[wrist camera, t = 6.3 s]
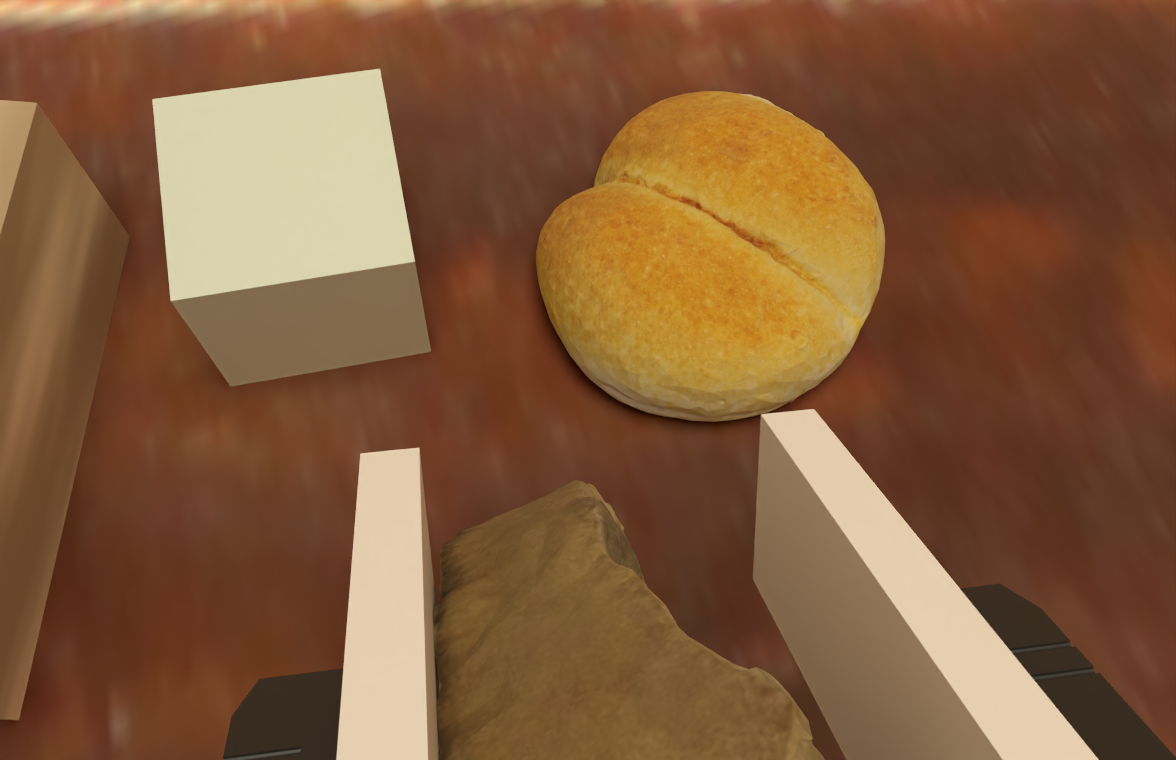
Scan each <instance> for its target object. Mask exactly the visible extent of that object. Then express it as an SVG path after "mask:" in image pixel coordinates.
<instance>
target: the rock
mask: <svg viewBox="0 0 1176 760" xmlns="http://www.w3.org/2000/svg"><path fill="white" fill-rule="evenodd" d="M623 531H624V527H623V526H622V524H621V523H620V521H619V520H618V518H617V517H616V515H615V512H614V510H613V508H612V507H611V506H610V504H607V503H605V501H604V500H603V498H602V497H601V495H600V494H599V492H598V491H597V490H596V488H595V487H594V486H593V485H591V484H590V483H589V484H585V483H584V482H582V481H579V480H575V481H572V482H570V483H568V484H566V485H564V486H562V487H560V488H558V489H556V490H555V491H553V492H551V493H550V494H548V495H546V496H544V497H541V498H539V499H537V500H535V501H533V502H530V503H528V504H526V505H524V506H523V507H519V508H516V509H513V510H510V511H508V512H506V513H503V514H501V515H499V516H497V517H495V518H493V519H490V520H488V521H486V522H484V523H483V524H480V525H477V526H474V527H471V528H467V529H465V530H462V531H460V532H458V533H457V534H456V535H455V536H454V537H453V539H451V540H450V541H448V542H446V543H445V544H444V545H443V547H442V548H441V551H440V565H441V582H440V585H439V592H440V598H441V601H440V602H439V603H438V604H437V605H436V606H435V607H434V630H433V633H434V653H435V658H436V664H437V671H438V678H439V697H438V701H437V704H436V713H437V732H438V745H439V750H440V758H439V760H825V759H824V757H823V756H822V755H821V753H820V752H819V751H818V750H817V749H816V748H815V747H814V745H813V744H812V740H813V737H812V734H811V731H810V726H809V721H808V719H807V718H806V717H805V715H804V714H803V712H802V711H801V710H800V708H799V707H798V705H797V704H796V703H795V701H794V700H793V698H792V697H791V696H790V694H789V693H788V692H787V691H786V690H785V689H784V688H783V687H782V686H781V684H780V683H779V682H778V681H777V680H776V679H775V678H774V677H773V676H772V675H770V674H769V673H768V672H766V671H764V670H762V669H760V668H758V667H754V668H751V669H747V668H744V667H742V666H739V665H736V664H733V663H732V662H730V661H728V660H726V659H725V658H723V657H721V656H719V655H718V654H716V653H715V652H713V651H711V650H710V649H708V648H707V647H705V646H703V645H702V644H700V643H698V642H697V641H695V640H693V639H692V638H690V637H688V636H687V635H686V634H685V633H684V632H683V631H682V630H681V629H680V628H679V627H678V625H677V623H676V622H675V620H674V618H673V617H672V615H671V613H670V611H669V610H668V608H667V606H666V605H665V604H664V603H663V602H662V601H661V600H660V599H659V598H658V597H657V596H656V595H655V594H654V593H652V592H651V591H650V590H649V589H648V587H647V586H646V584H645V581H644V578H643V575H642V571H641V568H640V565H639V561H638V558H637V556H636V554H635V552H634V550H633V548H632V546H631V544H630V542H629V541H628V539H627V538H626V536H625V534H624V532H623Z"/></svg>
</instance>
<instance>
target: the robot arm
mask: <svg viewBox="0 0 1176 760" xmlns="http://www.w3.org/2000/svg"><path fill="white" fill-rule="evenodd" d="M753 580H754V582H755V584H756V586H757V588H758V590H759V592H760V594H761V596H762V597H763V599H764V601H765V603H766V605H767V607H768V609H769V611H770V613H771V615H772V617H773V619H774V621H775V623H776V625H777V627H778V628H779V630H780V632H781V634H782V636H783V638H784V640H785V642H786V644H787V646H788V648H789V650H790V652H791V654H792V656H793V657H794V659H795V661H796V663H797V665H798V667H799V669H800V671H801V673H802V675H803V677H804V679H805V681H806V683H807V685H808V686H809V688H810V690H811V692H812V694H813V696H814V698H815V700H816V702H817V704H818V706H819V708H820V710H821V712H822V714H823V715H824V717H825V719H826V721H827V723H828V725H829V727H830V729H831V731H832V733H833V735H834V737H835V739H836V741H837V743H838V745H839V746H840V748H841V750H842V752H843V754H844V756H845V758H846V760H1176V757H1175V756H1174V755H1173V754H1172V753H1171V752H1170V750H1169V749H1168V748H1167V747H1166V746H1165V745H1164V744H1163V743H1162V742H1161V741H1160V739H1159V738H1158V737H1157V736H1156V735H1155V734H1154V733H1153V732H1152V731H1151V729H1150V728H1149V727H1148V726H1147V725H1146V724H1145V723H1144V722H1143V721H1142V720H1141V718H1140V717H1139V716H1138V715H1137V714H1136V713H1135V712H1134V711H1133V710H1132V708H1131V707H1130V706H1129V705H1128V704H1127V703H1126V702H1125V701H1124V700H1123V699H1122V697H1121V696H1120V695H1119V694H1118V693H1117V692H1116V691H1115V690H1114V689H1113V687H1112V686H1111V685H1110V684H1109V683H1108V682H1107V681H1106V680H1105V679H1104V678H1103V676H1102V675H1101V674H1100V673H1097V674H1095V672H1094V669H1093V665H1092V664H1091V663H1090V662H1089V661H1088V660H1087V659H1086V658H1085V657H1084V655H1083V654H1082V653H1081V652H1080V651H1079V650H1078V649H1077V648H1076V647H1071V645H1070V640H1069V639H1068V638H1067V637H1066V636H1065V634H1064V633H1063V632H1062V631H1061V630H1060V629H1059V628H1058V627H1057V626H1056V625H1055V623H1054V622H1053V621H1052V620H1051V619H1050V618H1049V617H1048V616H1047V615H1046V613H1045V612H1044V611H1043V610H1042V609H1041V608H1039V607H1037V606H1036V605H1034V604H1032V603H1031V602H1029V601H1028V600H1026V599H1024V598H1023V597H1021V596H1019V595H1018V594H1016V593H1014V592H1013V591H1011V590H1009V589H1008V588H1006V587H1004V586H1003V585H1001V584H994V585H986V586H978V587H970V588H961V589H960V588H959V587H958V586H957V585H956V583H955V582H954V581H953V580H952V578H951V577H950V576H949V575H948V574H947V572H946V571H945V570H944V569H943V567H942V566H941V565H940V564H939V562H938V561H937V560H936V559H935V558H934V556H933V555H932V554H931V553H930V551H929V550H928V549H927V548H926V546H925V545H924V544H923V543H922V542H921V540H920V539H919V538H918V537H917V535H916V534H915V533H914V532H913V530H912V529H911V528H910V527H909V526H908V524H907V523H906V522H905V521H904V519H903V518H902V517H901V516H900V514H899V513H898V512H897V511H896V510H895V508H894V507H893V506H892V505H891V503H890V502H889V501H888V500H887V498H886V497H885V496H884V495H883V494H882V492H881V491H880V490H879V489H878V487H877V486H876V485H875V484H874V482H873V481H872V480H871V479H870V478H869V476H868V475H867V474H866V473H865V471H864V470H863V469H862V468H861V466H860V465H859V464H858V463H857V462H856V460H855V459H854V458H853V457H852V455H851V454H850V453H849V452H848V450H847V449H846V448H845V447H844V446H843V444H842V443H841V442H840V441H839V439H838V438H837V437H836V436H835V434H834V433H833V432H832V431H831V430H830V428H829V427H828V426H827V425H826V423H825V422H824V421H823V420H822V418H821V417H820V416H819V415H818V414H817V412H816V411H815V410H814V409H810V410H799V411H789V412H779V413H769V414H761V422H760V443H759V464H758V485H757V506H756V527H755V547H754V568H753ZM435 606H436V599H435V590H434V580H433V571H432V562H431V552H430V543H429V534H428V524H427V515H426V506H425V496H424V487H423V478H422V468H421V459H420V450H419V448H412V449H402V450H392V451H381V452H371V453H361V454H360V467H359V479H358V492H357V504H356V517H355V530H354V542H353V555H352V567H351V580H350V593H349V605H348V618H347V630H346V643H345V656H344V668H343V669H336V670H328V671H320V672H312V673H304V674H296V675H288V676H280V677H272V678H264V679H259V681H258V682H257V683H256V685H255V686H254V687H253V689H252V690H251V691H250V693H249V694H248V695H247V697H246V698H245V699H244V701H243V702H242V703H241V705H240V706H239V707H238V709H237V710H236V711H235V713H234V714H233V716H232V718H231V723H230V728H229V732H228V737H227V742H226V746H225V751H224V756H223V758H224V760H439V758H440V750H439V745H438V732H437V713H436V704H437V701H438V697H439V678H438V671H437V664H436V658H435V653H434V633H433V630H434V607H435Z"/></svg>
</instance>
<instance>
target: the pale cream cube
mask: <svg viewBox="0 0 1176 760" xmlns="http://www.w3.org/2000/svg"><path fill="white" fill-rule="evenodd" d="M152 100H153V111H154V122H155V133H156V144H157V155H158V167H159V178H160V189H161V200H162V211H163V222H164V233H165V244H166V255H167V266H168V277H169V288H170V300H171V302H172V304H173V305H174V307H175V308H176V309H177V311H178V312H179V314H180V315H181V317H182V318H183V319H184V321H185V322H186V324H187V325H188V327H189V328H190V329H191V331H192V332H193V334H194V335H195V337H196V338H197V339H198V341H199V342H200V344H201V345H202V347H203V348H204V349H205V351H206V352H207V354H208V355H209V357H210V358H211V359H212V361H213V362H214V364H215V365H216V367H217V368H218V369H219V371H220V372H221V374H222V375H223V377H224V378H225V379H226V381H227V382H228V384H229V385H230V387H232V386H237V385H243V384H249V383H255V382H260V381H266V380H272V379H278V378H283V377H289V376H295V375H301V374H306V373H312V372H318V371H324V370H329V369H335V368H341V367H347V366H352V365H358V364H364V363H370V362H375V361H381V360H387V359H393V358H398V357H404V356H410V355H416V354H421V353H427V352H431V348H430V342H429V337H428V331H427V326H426V320H425V315H424V309H423V303H422V298H421V292H420V287H419V281H418V276H417V270H416V265H415V259H414V254H413V248H412V243H411V237H410V232H409V226H408V221H407V215H406V210H405V204H404V199H403V193H402V188H401V182H400V177H399V171H398V166H397V160H396V155H395V149H394V144H393V138H392V133H391V127H390V122H389V116H388V111H387V105H386V100H385V94H384V89H383V84H382V78H381V73H380V69H374V70H367V71H359V72H352V73H344V74H337V75H329V76H322V77H314V78H307V79H300V80H292V81H285V82H277V83H270V84H262V85H255V86H247V87H240V88H232V89H225V90H218V91H210V92H203V93H195V94H188V95H180V96H173V97H165V98H158V99H152Z"/></svg>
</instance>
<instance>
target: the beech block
mask: <svg viewBox="0 0 1176 760" xmlns="http://www.w3.org/2000/svg"><path fill="white" fill-rule="evenodd" d="M129 239H130V236H129V234H128V233H127V232H126V230H125V229H124V227H123V226H122V224H121V223H120V222H119V220H118V219H117V217H116V216H115V214H114V213H113V211H112V210H111V209H110V207H109V206H108V204H107V203H106V201H105V200H104V198H103V197H102V196H101V194H100V193H99V191H98V190H97V188H96V187H95V185H94V184H93V183H92V181H91V180H90V178H89V177H88V175H87V174H86V172H85V171H84V170H83V168H82V167H81V165H80V164H79V162H78V161H77V159H76V158H75V157H74V155H73V154H72V152H71V151H70V149H69V148H68V147H67V145H66V144H65V142H64V141H63V139H62V138H61V136H60V135H59V134H58V132H57V131H56V129H55V128H54V126H53V125H52V123H51V122H50V121H49V119H48V118H47V116H46V115H45V113H44V112H43V110H42V109H41V108H40V106H39V105H38V103H32V102H19V101H6V100H0V719H2V720H19V718H20V713H21V709H22V705H23V700H24V696H25V692H26V687H27V683H28V678H29V674H30V670H31V665H32V661H33V657H34V652H35V648H36V644H37V639H38V635H39V631H40V626H41V622H42V618H43V613H44V609H45V604H46V600H47V596H48V591H49V587H50V583H51V578H52V574H53V570H54V565H55V561H56V557H57V552H58V548H59V543H60V539H61V535H62V530H63V526H64V522H65V517H66V513H67V509H68V504H69V500H70V496H71V491H72V487H73V483H74V478H75V474H76V469H77V465H78V461H79V456H80V452H81V448H82V443H83V439H84V435H85V430H86V426H87V422H88V417H89V413H90V409H91V404H92V400H93V395H94V391H95V387H96V382H97V378H98V374H99V369H100V365H101V361H102V356H103V352H104V348H105V343H106V339H107V334H108V330H109V326H110V321H111V317H112V313H113V308H114V304H115V300H116V295H117V291H118V287H119V282H120V278H121V274H122V269H123V265H124V260H125V256H126V252H127V247H128V243H129Z"/></svg>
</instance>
